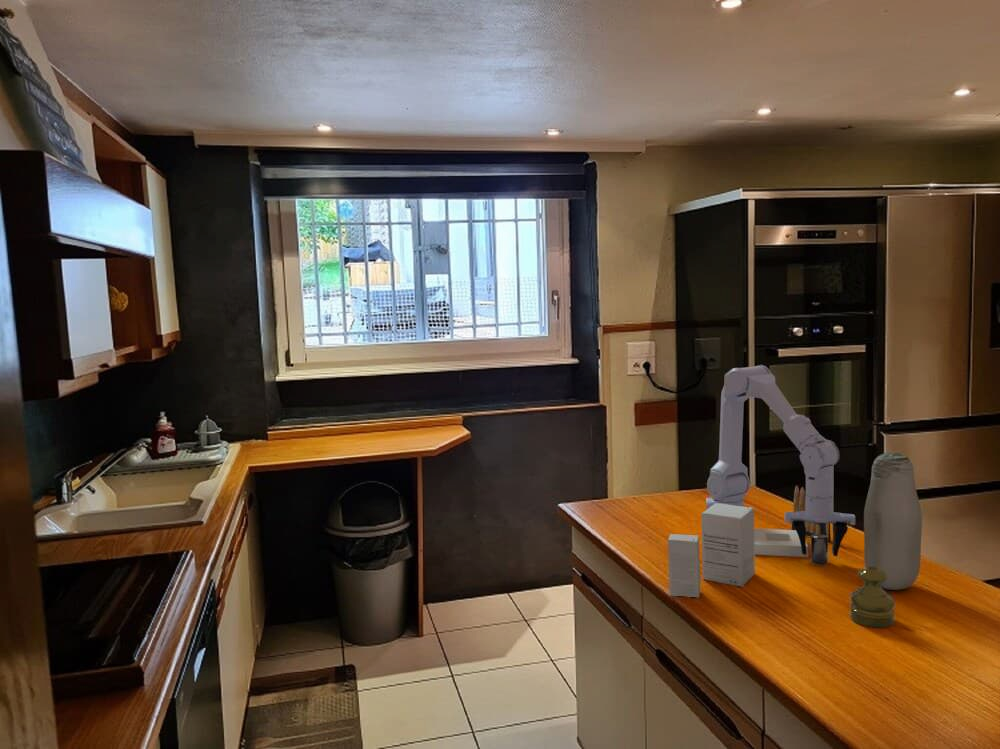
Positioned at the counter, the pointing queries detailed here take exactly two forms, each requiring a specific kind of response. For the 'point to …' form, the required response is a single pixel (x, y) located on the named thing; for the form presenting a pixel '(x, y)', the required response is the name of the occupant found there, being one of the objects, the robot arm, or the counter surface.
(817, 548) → the metal peg
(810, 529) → the ammunition clip
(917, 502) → the grey bottle
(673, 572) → the skincare box
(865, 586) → the olive green knobbed piece
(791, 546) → the socket block
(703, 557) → the supplement box
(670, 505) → the counter surface
